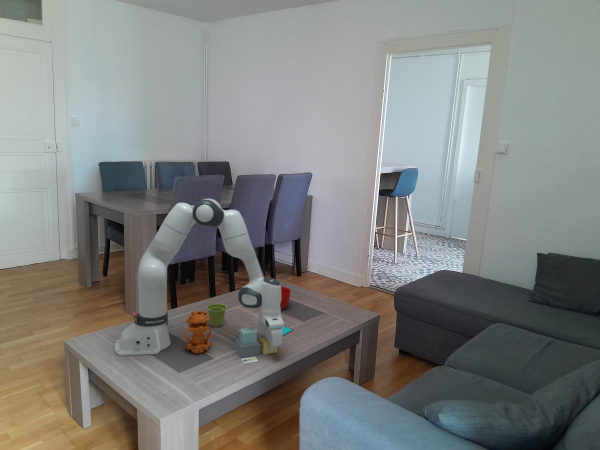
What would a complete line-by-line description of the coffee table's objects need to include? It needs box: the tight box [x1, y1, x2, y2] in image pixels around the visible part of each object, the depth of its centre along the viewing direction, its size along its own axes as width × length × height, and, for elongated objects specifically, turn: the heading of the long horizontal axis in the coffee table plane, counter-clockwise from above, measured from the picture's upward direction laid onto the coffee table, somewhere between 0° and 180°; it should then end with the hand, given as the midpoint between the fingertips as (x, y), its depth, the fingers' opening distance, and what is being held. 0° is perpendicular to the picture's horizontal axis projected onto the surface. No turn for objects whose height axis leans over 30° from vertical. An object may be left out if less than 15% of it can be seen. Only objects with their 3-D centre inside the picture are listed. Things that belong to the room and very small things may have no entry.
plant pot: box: [206, 303, 228, 328], centre depth 211 cm, size 9×9×9 cm
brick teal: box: [239, 326, 258, 345], centre depth 184 cm, size 6×5×5 cm
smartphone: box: [261, 325, 294, 338], centre depth 205 cm, size 7×1×15 cm
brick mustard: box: [259, 337, 278, 355], centre depth 187 cm, size 6×5×5 cm
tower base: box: [235, 337, 261, 359], centre depth 185 cm, size 8×8×5 cm
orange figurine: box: [184, 310, 213, 354], centre depth 183 cm, size 11×11×18 cm
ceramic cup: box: [280, 286, 291, 311], centre depth 234 cm, size 13×17×10 cm
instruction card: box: [241, 356, 259, 364], centre depth 179 cm, size 6×4×1 cm, turn 113°
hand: (268, 347), depth 188 cm, fingers closed on brick mustard, 5 cm apart
